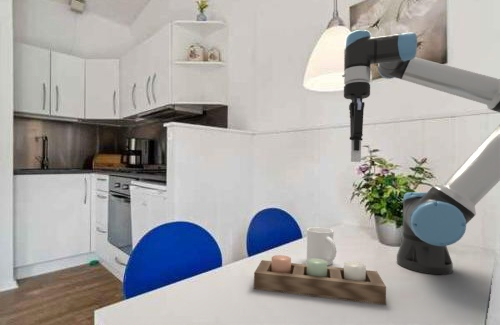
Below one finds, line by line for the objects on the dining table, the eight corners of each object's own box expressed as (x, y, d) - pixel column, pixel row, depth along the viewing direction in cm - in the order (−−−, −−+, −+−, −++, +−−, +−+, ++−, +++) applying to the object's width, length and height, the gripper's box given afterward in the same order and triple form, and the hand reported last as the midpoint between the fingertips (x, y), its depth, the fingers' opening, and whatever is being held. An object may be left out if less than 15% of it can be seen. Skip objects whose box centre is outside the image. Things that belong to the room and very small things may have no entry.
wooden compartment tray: (376, 287, 73) (376, 271, 73) (385, 304, 64) (386, 286, 64) (261, 274, 80) (261, 260, 80) (253, 288, 70) (254, 272, 70)
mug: (346, 268, 87) (346, 234, 87) (322, 271, 84) (323, 236, 84) (323, 256, 98) (323, 226, 98) (301, 259, 95) (302, 227, 95)
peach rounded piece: (291, 272, 76) (291, 256, 76) (289, 279, 71) (290, 262, 71) (272, 270, 77) (273, 254, 77) (269, 277, 72) (270, 260, 72)
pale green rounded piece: (326, 276, 74) (326, 259, 74) (327, 284, 69) (327, 265, 69) (306, 274, 75) (307, 257, 75) (306, 281, 70) (306, 263, 70)
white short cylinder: (363, 280, 72) (364, 262, 72) (367, 288, 67) (367, 269, 67) (342, 278, 73) (343, 260, 73) (344, 285, 68) (345, 267, 68)
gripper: (342, 90, 94) (340, 162, 94) (346, 78, 82) (344, 160, 81) (366, 89, 93) (365, 162, 92) (374, 76, 80) (373, 161, 79)
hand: (355, 161), depth 87 cm, fingers closed
